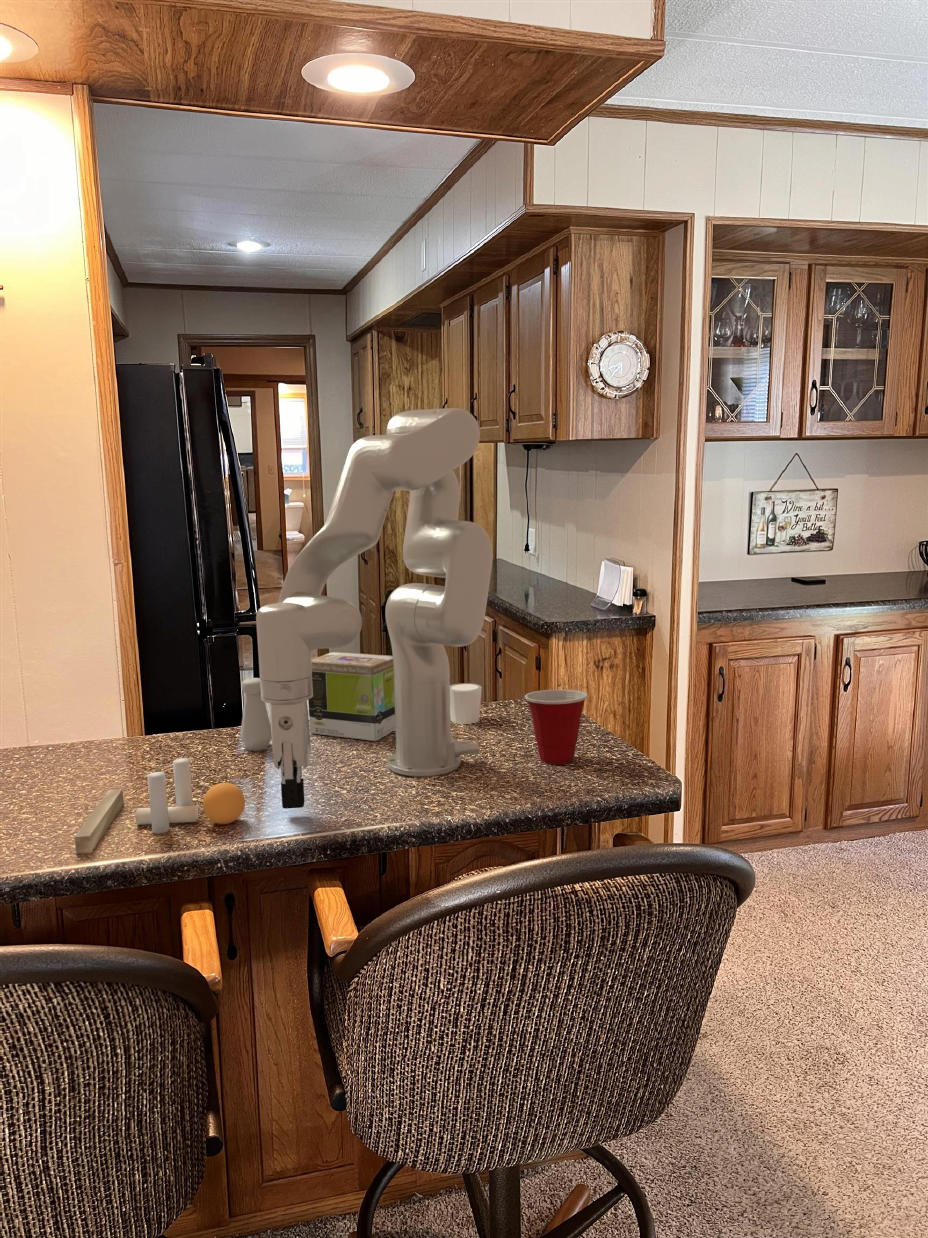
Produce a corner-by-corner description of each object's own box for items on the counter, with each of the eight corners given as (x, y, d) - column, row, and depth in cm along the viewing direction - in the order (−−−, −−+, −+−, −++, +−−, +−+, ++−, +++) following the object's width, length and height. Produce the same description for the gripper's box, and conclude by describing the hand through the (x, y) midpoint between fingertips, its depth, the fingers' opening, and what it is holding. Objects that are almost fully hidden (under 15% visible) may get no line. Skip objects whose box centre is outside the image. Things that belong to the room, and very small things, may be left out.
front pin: (197, 804, 139) (140, 807, 138) (194, 806, 136) (135, 809, 136) (198, 820, 138) (140, 823, 138) (194, 823, 136) (135, 826, 135)
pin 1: (170, 826, 136) (166, 771, 134) (167, 833, 133) (162, 777, 132) (154, 827, 135) (149, 772, 134) (150, 834, 133) (145, 778, 131)
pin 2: (194, 811, 141) (190, 758, 140) (192, 817, 139) (187, 763, 137) (178, 812, 141) (174, 759, 139) (175, 818, 139) (171, 764, 137)
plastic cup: (571, 746, 168) (571, 682, 166) (598, 765, 158) (598, 697, 155) (515, 753, 164) (515, 688, 162) (539, 773, 154) (539, 704, 152)
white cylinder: (447, 716, 188) (446, 683, 187) (480, 715, 189) (479, 682, 187) (449, 726, 181) (448, 692, 180) (484, 725, 182) (483, 690, 181)
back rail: (123, 804, 145) (122, 789, 144) (91, 853, 127) (89, 836, 127) (110, 804, 144) (109, 789, 144) (76, 854, 127) (74, 837, 126)
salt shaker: (265, 753, 168) (261, 683, 165) (236, 751, 169) (231, 682, 166) (278, 743, 173) (274, 676, 171) (249, 741, 174) (245, 675, 172)
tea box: (401, 728, 181) (398, 654, 178) (375, 743, 172) (372, 666, 169) (336, 720, 187) (332, 649, 185) (308, 734, 178) (304, 660, 176)
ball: (196, 797, 138) (230, 816, 140) (193, 820, 133) (228, 839, 135) (219, 768, 137) (253, 787, 139) (217, 789, 132) (252, 809, 134)
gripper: (310, 700, 128) (316, 824, 132) (314, 674, 143) (320, 786, 146) (255, 702, 127) (263, 827, 131) (265, 676, 142) (272, 789, 145)
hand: (293, 805), depth 138 cm, fingers closed
